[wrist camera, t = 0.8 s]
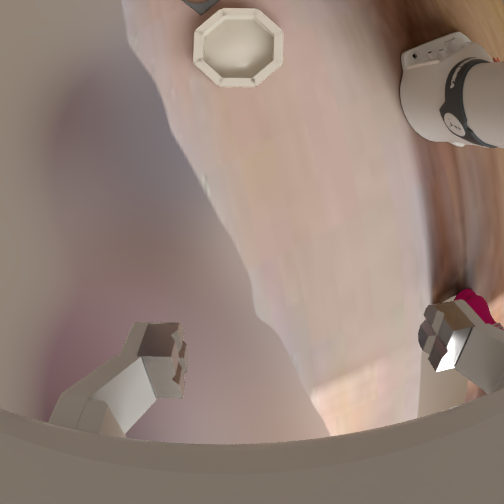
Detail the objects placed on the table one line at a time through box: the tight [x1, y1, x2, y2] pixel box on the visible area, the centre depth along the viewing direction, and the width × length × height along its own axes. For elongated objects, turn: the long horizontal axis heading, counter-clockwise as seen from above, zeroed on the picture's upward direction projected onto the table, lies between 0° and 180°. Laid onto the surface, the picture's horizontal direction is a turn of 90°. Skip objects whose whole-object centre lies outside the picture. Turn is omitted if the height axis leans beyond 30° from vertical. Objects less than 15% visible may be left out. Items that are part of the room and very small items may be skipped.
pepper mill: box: [454, 289, 504, 331], centre depth 48 cm, size 7×7×20 cm
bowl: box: [193, 8, 283, 88], centre depth 36 cm, size 12×12×3 cm
